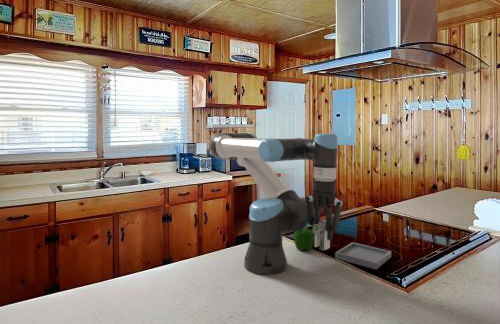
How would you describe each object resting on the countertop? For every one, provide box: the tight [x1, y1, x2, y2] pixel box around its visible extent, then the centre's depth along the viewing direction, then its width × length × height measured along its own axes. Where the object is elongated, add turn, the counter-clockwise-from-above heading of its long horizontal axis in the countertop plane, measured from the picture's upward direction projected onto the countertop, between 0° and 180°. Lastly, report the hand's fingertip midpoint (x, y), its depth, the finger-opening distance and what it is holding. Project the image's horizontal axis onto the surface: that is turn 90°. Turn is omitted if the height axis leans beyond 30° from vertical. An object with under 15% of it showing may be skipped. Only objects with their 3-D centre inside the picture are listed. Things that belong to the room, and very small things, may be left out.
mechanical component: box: [312, 218, 327, 252], centre depth 113 cm, size 3×10×10 cm, turn 138°
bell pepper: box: [293, 227, 315, 251], centre depth 134 cm, size 8×8×10 cm
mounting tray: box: [334, 242, 392, 270], centre depth 125 cm, size 16×16×2 cm
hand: (322, 247), depth 113 cm, fingers closed on mechanical component, 3 cm apart
